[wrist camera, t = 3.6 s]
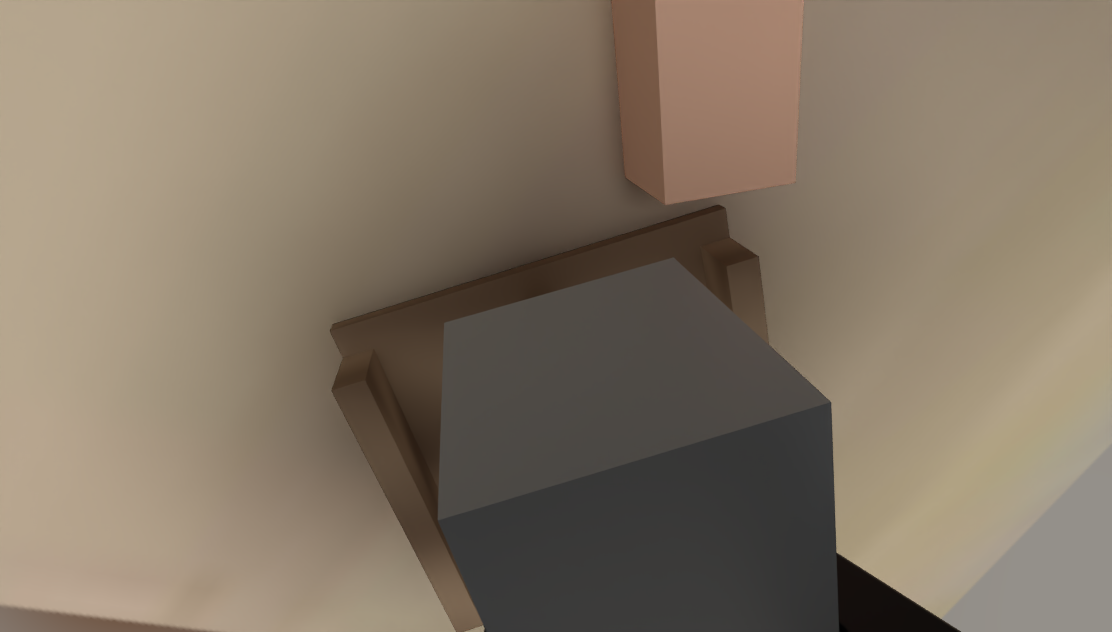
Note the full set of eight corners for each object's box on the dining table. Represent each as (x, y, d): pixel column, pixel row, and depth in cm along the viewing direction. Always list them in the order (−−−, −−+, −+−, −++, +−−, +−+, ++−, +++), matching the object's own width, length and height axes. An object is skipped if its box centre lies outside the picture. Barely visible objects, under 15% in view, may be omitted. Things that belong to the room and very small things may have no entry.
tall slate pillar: (443, 322, 8) (437, 519, 5) (673, 257, 9) (830, 401, 5) (577, 692, 12) (628, 955, 9) (734, 642, 13) (847, 880, 9)
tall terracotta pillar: (594, -184, 15) (642, -263, 11) (728, -198, 15) (816, -279, 11) (623, 175, 18) (665, 205, 15) (729, 158, 19) (795, 183, 15)
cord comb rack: (332, 324, 19) (316, 361, 16) (719, 204, 19) (754, 224, 17) (464, 595, 24) (465, 650, 22) (760, 497, 25) (792, 541, 22)
